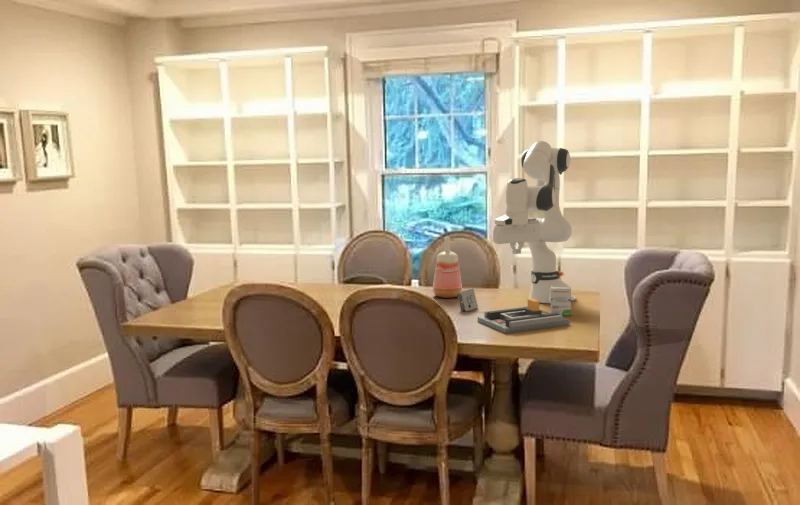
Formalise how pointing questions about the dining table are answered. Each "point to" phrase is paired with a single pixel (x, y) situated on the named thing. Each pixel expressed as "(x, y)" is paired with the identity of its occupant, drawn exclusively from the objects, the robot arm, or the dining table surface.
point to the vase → (447, 273)
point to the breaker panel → (502, 327)
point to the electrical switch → (467, 300)
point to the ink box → (561, 300)
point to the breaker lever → (532, 307)
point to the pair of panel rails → (524, 320)
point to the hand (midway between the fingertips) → (516, 253)
